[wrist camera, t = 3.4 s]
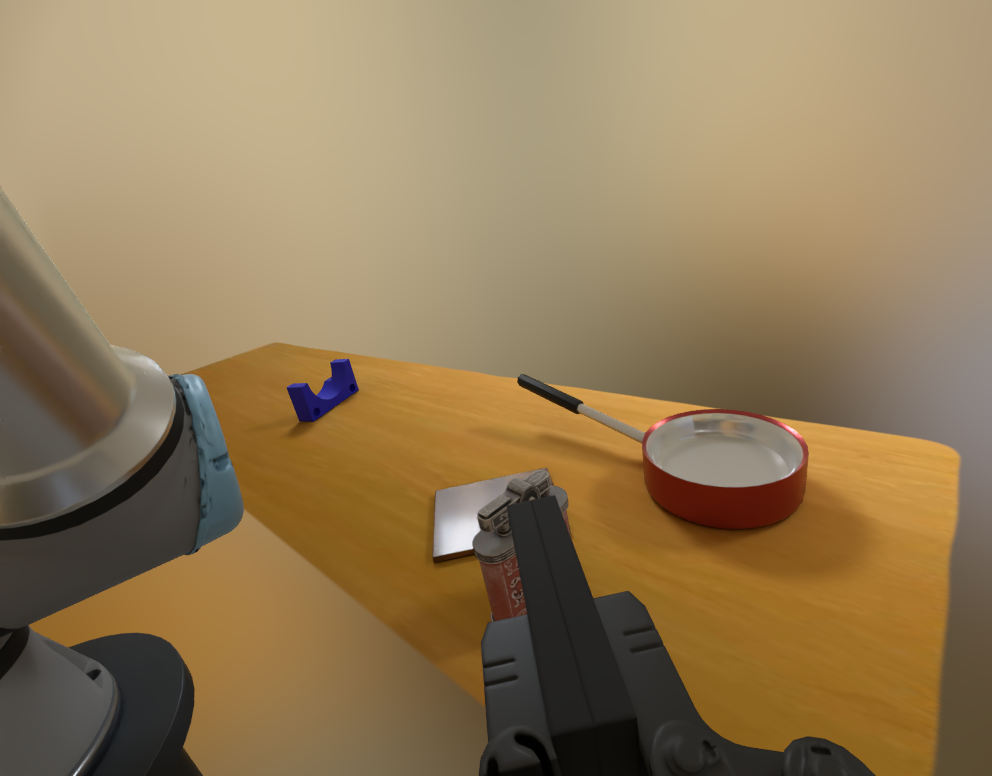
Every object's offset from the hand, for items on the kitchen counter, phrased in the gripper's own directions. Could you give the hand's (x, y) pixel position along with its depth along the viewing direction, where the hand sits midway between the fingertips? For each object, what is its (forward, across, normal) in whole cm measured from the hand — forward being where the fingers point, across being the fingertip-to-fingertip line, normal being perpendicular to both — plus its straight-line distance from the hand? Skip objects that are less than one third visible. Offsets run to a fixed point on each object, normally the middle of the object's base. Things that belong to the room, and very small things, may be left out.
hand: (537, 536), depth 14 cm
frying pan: (+30, +12, -18) cm, 37 cm away
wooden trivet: (+26, -2, -18) cm, 31 cm away
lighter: (+15, 0, -18) cm, 23 cm away
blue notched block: (+65, -28, -18) cm, 73 cm away
